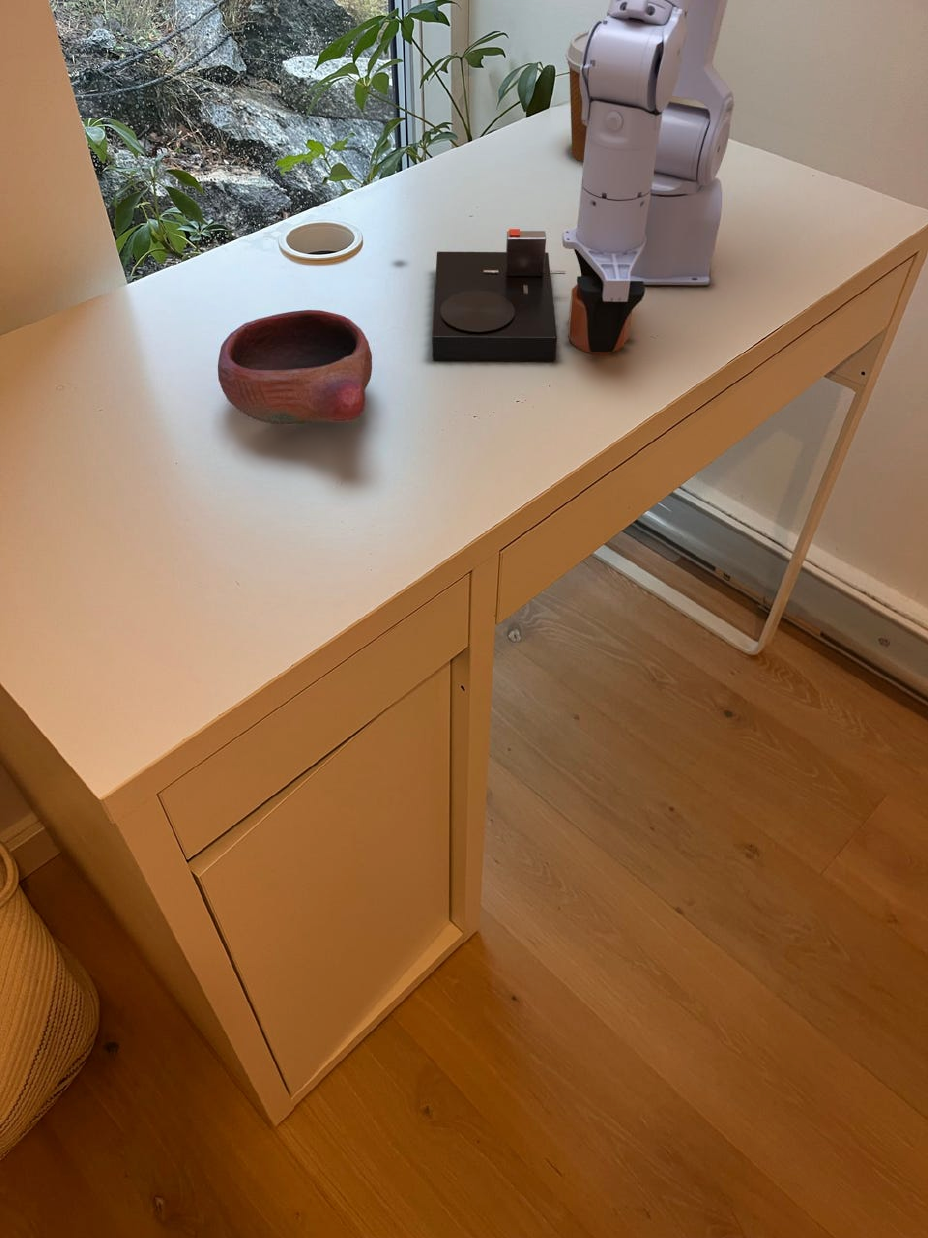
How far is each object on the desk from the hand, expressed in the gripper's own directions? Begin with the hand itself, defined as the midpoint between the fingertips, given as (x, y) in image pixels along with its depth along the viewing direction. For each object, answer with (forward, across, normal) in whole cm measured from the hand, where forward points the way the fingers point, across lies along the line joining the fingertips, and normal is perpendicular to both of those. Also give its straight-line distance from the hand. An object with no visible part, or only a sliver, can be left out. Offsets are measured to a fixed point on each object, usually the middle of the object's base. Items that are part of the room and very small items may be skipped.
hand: (598, 331), depth 90 cm
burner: (-2, 0, -11) cm, 11 cm away
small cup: (+1, 0, 0) cm, 1 cm away
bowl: (+1, +12, -25) cm, 27 cm away
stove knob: (-2, -7, -7) cm, 10 cm away
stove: (+1, -4, -10) cm, 10 cm away
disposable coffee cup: (+1, -39, +3) cm, 39 cm away
